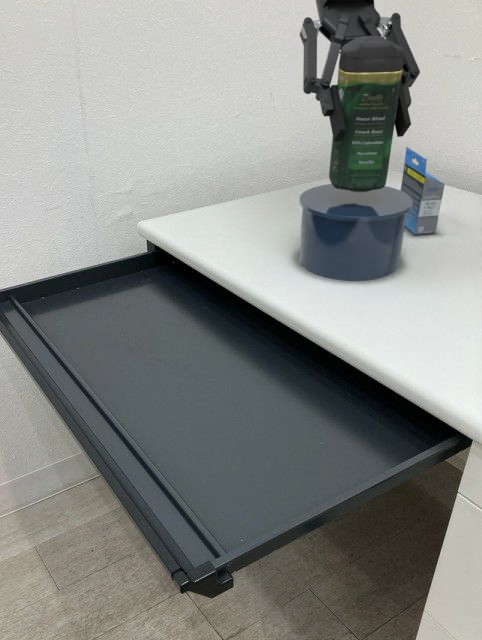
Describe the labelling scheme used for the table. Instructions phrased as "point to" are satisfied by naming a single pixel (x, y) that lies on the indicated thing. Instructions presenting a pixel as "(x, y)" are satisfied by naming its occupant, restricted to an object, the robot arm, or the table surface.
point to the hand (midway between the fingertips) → (372, 132)
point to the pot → (352, 232)
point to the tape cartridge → (421, 195)
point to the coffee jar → (366, 112)
